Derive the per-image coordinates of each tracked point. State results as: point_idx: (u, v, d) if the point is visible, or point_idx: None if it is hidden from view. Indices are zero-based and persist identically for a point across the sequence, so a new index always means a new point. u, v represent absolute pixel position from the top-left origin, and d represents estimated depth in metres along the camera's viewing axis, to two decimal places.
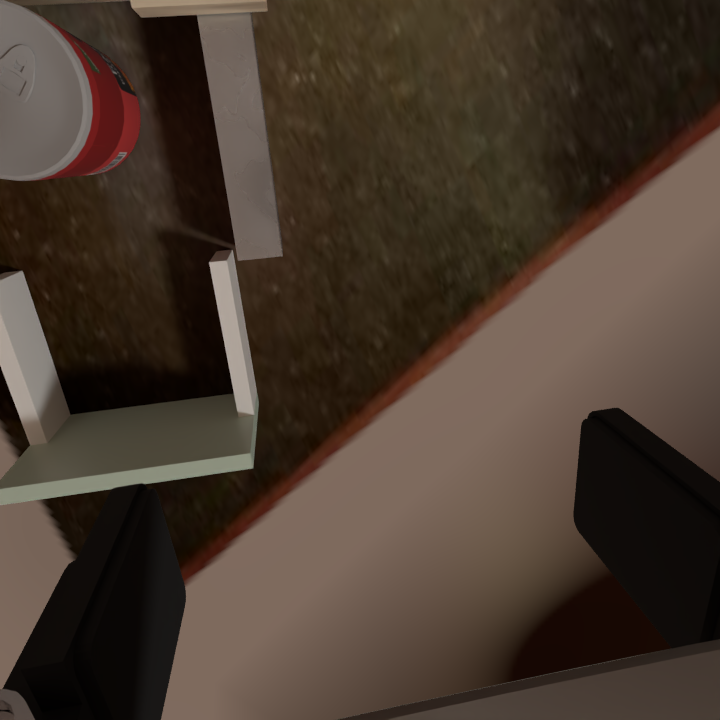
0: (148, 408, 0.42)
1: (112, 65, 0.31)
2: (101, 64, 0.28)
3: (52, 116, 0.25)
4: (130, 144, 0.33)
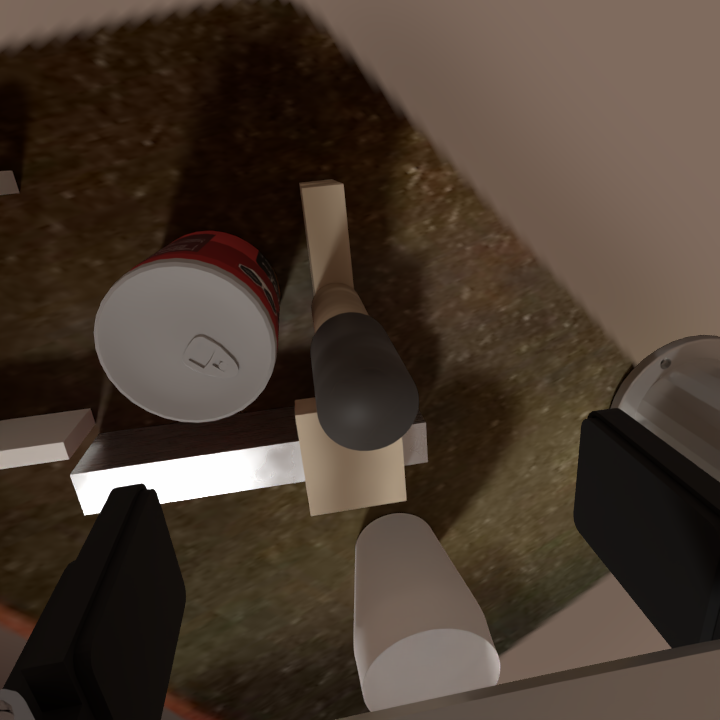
0: None
1: None
2: None
3: (173, 384, 0.23)
4: None
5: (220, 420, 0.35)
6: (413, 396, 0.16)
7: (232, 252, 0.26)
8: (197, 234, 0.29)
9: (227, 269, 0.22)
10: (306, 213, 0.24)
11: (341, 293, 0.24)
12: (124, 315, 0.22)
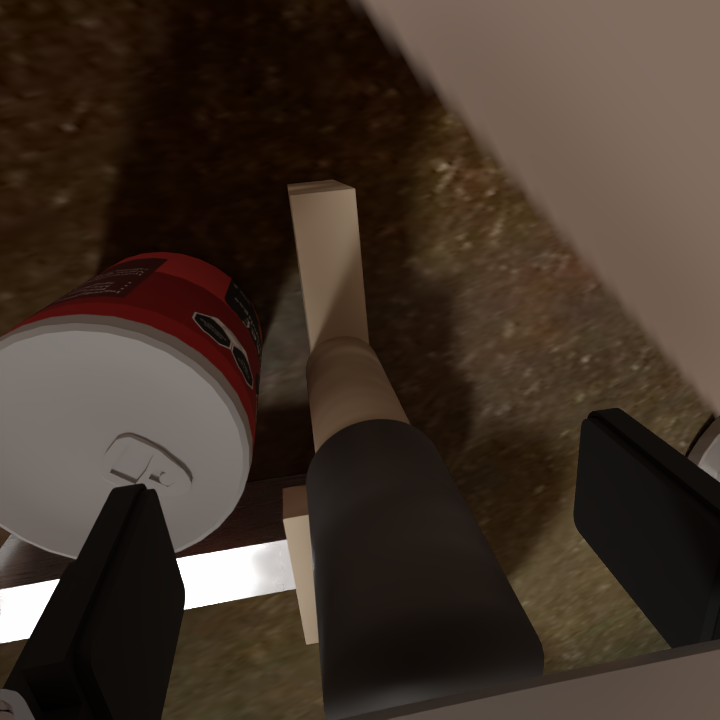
0: None
1: None
2: None
3: (87, 508, 0.15)
4: None
5: None
6: (533, 661, 0.07)
7: (186, 290, 0.17)
8: (141, 259, 0.20)
9: (169, 329, 0.14)
10: (297, 234, 0.16)
11: (353, 360, 0.15)
12: None
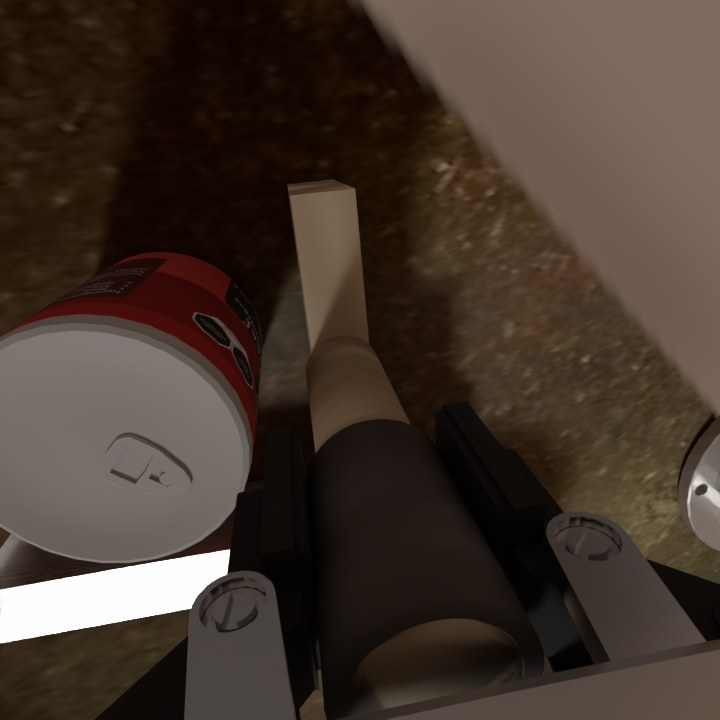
0: None
1: None
2: None
3: (87, 508, 0.15)
4: None
5: None
6: (533, 661, 0.07)
7: (186, 290, 0.17)
8: (141, 259, 0.20)
9: (169, 329, 0.14)
10: (297, 234, 0.16)
11: (353, 360, 0.15)
12: None
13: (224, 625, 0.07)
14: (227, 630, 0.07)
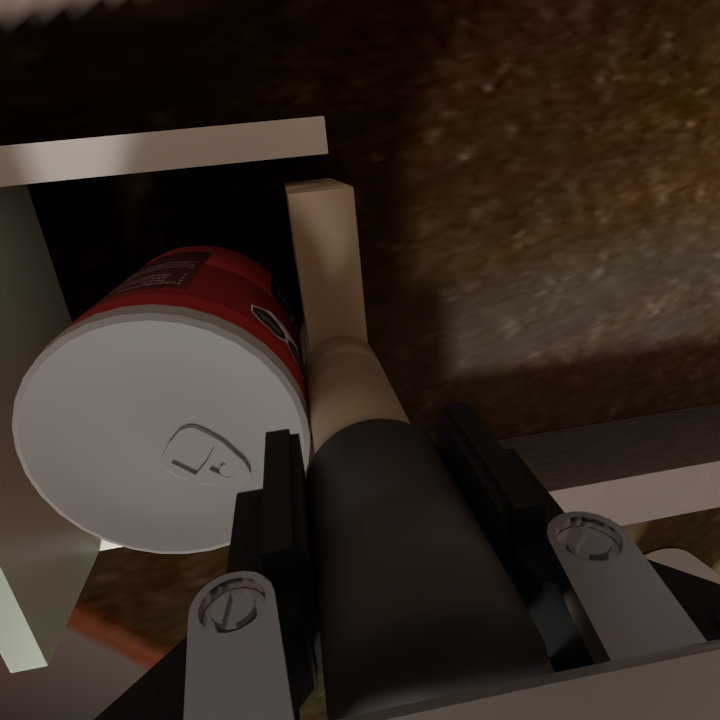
0: None
1: None
2: None
3: (146, 499, 0.15)
4: None
5: (503, 445, 0.28)
6: (537, 661, 0.07)
7: (238, 283, 0.17)
8: (185, 252, 0.20)
9: (235, 320, 0.14)
10: (295, 233, 0.16)
11: (352, 359, 0.15)
12: (63, 397, 0.13)
13: (223, 625, 0.07)
14: (226, 630, 0.07)
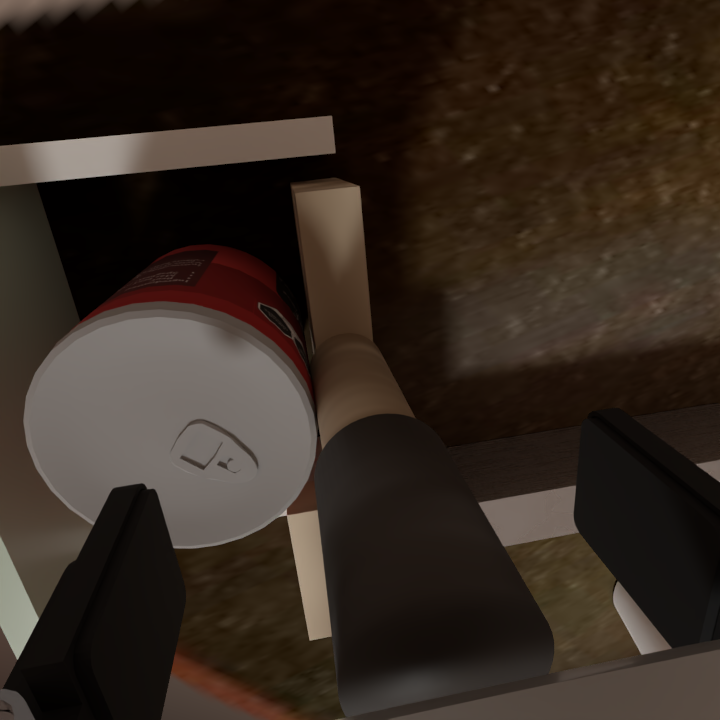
0: None
1: None
2: None
3: None
4: None
5: (507, 443, 0.29)
6: (543, 648, 0.07)
7: (245, 281, 0.18)
8: (192, 250, 0.20)
9: (243, 317, 0.14)
10: (302, 231, 0.16)
11: (358, 356, 0.15)
12: (74, 393, 0.13)
13: None
14: None
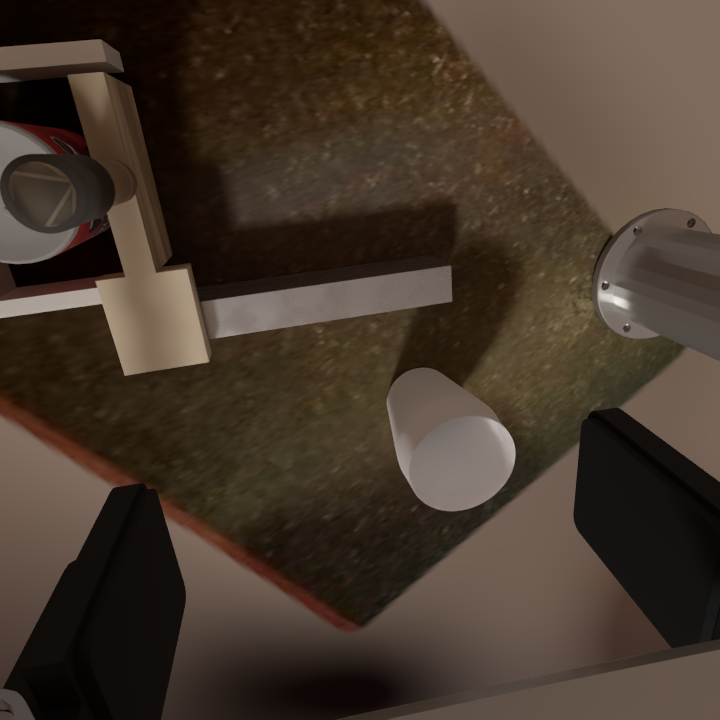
0: None
1: (99, 232, 0.37)
2: None
3: None
4: None
5: (279, 277, 0.43)
6: (77, 187, 0.21)
7: (54, 132, 0.31)
8: None
9: (31, 132, 0.28)
10: (74, 97, 0.30)
11: None
12: None
13: None
14: None
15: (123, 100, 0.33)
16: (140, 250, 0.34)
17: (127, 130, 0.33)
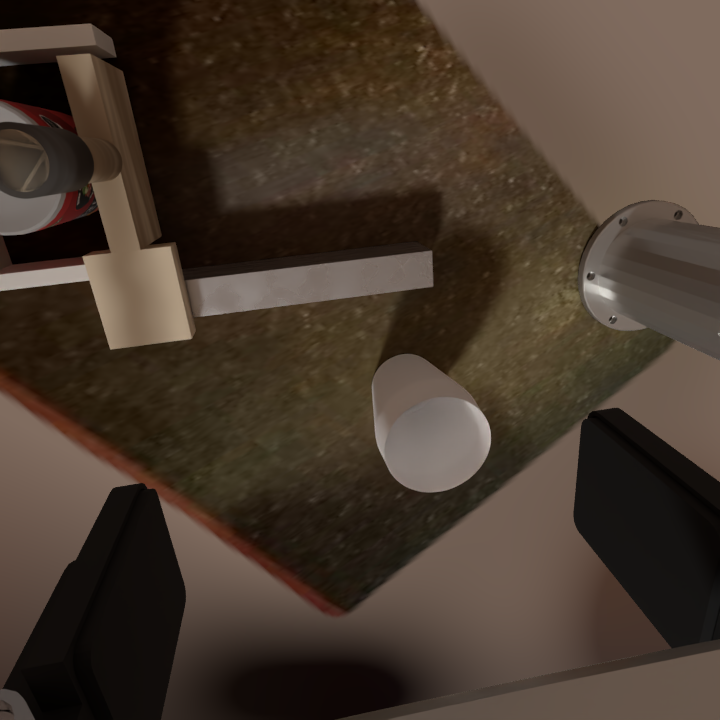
0: None
1: (89, 211, 0.38)
2: (68, 219, 0.35)
3: None
4: None
5: (266, 260, 0.44)
6: (50, 155, 0.23)
7: (45, 112, 0.33)
8: None
9: (19, 109, 0.29)
10: (63, 77, 0.31)
11: None
12: None
13: None
14: None
15: (112, 83, 0.34)
16: (125, 227, 0.35)
17: (115, 111, 0.34)
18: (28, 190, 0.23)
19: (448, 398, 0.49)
